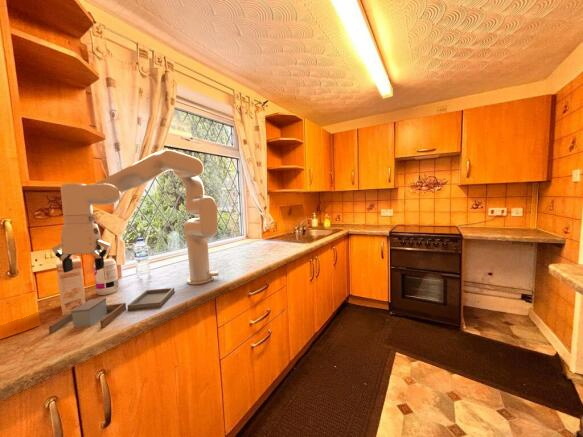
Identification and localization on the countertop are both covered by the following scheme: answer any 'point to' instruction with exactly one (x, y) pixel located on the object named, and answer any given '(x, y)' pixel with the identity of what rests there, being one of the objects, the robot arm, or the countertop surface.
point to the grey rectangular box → (89, 313)
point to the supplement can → (106, 278)
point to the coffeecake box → (70, 286)
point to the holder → (116, 311)
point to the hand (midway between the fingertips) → (84, 270)
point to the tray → (151, 299)
